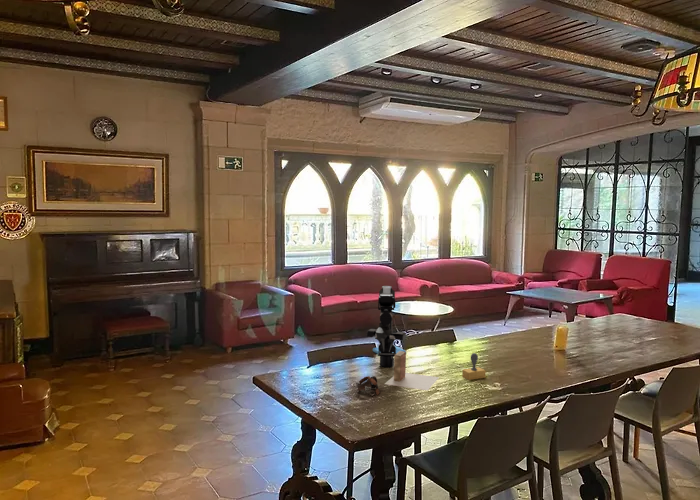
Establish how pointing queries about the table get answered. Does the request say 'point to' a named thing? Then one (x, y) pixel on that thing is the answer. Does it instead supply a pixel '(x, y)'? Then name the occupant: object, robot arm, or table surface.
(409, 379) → the grey rubber mat
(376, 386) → the brown arched piece
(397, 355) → the oak tile
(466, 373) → the rubber stamp
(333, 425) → the table surface
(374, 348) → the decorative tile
